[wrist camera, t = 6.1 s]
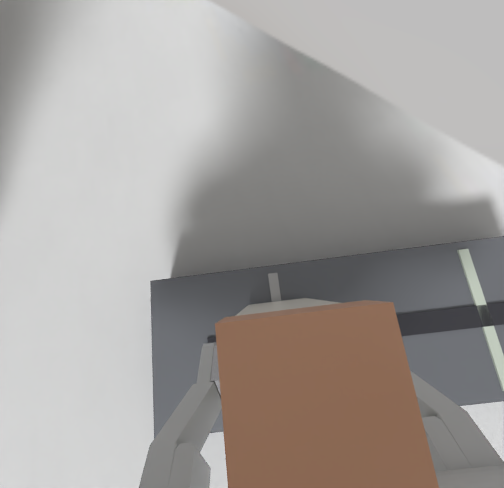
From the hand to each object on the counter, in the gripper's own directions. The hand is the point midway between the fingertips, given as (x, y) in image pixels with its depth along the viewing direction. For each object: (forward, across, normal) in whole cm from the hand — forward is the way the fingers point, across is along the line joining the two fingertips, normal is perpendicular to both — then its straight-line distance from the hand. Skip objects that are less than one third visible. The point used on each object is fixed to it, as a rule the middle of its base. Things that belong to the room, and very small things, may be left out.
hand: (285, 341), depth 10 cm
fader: (+2, 0, +3) cm, 4 cm away
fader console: (+4, -4, +5) cm, 8 cm away
